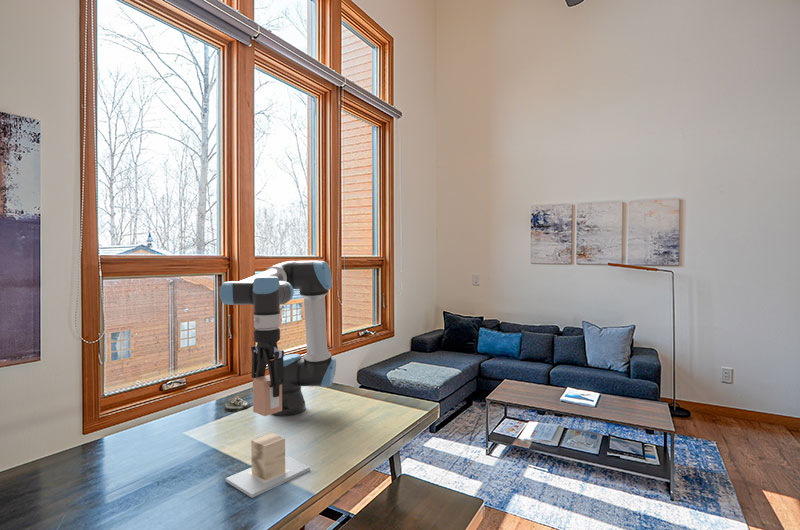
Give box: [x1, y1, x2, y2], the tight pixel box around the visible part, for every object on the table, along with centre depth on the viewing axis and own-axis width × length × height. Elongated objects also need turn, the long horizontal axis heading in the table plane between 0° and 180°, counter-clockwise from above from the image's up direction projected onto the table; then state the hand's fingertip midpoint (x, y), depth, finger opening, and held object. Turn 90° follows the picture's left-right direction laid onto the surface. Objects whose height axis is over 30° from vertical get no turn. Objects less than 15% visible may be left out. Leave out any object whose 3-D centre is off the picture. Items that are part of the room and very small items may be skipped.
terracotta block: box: [252, 374, 282, 417], centre depth 131 cm, size 6×6×10 cm
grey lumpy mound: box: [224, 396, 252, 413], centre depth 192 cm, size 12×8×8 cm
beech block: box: [250, 432, 286, 480], centre depth 132 cm, size 7×7×10 cm
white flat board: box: [225, 454, 311, 499], centre depth 132 cm, size 14×20×1 cm
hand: (267, 404), depth 132 cm, fingers closed on terracotta block, 6 cm apart
